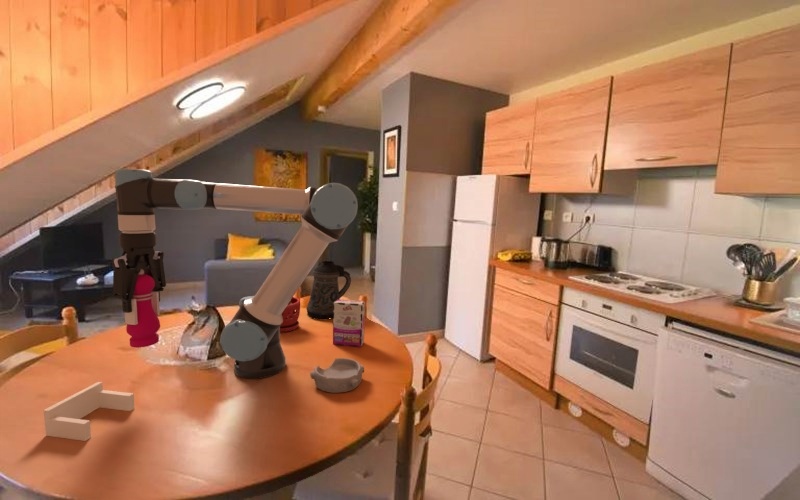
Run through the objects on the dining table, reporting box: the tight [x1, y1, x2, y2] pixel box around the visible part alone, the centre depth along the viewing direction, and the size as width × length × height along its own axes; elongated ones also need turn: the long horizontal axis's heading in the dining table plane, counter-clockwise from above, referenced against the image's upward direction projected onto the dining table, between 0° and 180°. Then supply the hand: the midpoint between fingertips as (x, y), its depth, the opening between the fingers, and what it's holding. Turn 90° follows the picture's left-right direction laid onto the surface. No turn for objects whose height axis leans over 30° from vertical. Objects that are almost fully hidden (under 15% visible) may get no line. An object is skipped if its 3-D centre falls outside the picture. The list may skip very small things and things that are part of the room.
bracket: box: [43, 381, 135, 442], centre depth 83 cm, size 10×12×6 cm
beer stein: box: [305, 260, 352, 320], centre depth 168 cm, size 16×19×25 cm
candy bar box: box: [332, 299, 366, 348], centre depth 135 cm, size 11×5×16 cm, turn 83°
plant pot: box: [280, 296, 301, 333], centre depth 147 cm, size 13×13×12 cm
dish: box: [309, 357, 365, 394], centre depth 106 cm, size 14×14×5 cm
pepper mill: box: [126, 269, 161, 348], centre depth 93 cm, size 7×7×20 cm
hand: (143, 319), depth 94 cm, fingers closed on pepper mill, 6 cm apart
